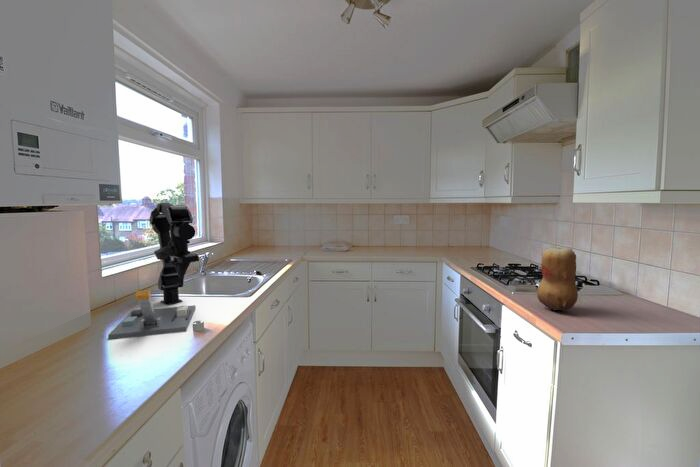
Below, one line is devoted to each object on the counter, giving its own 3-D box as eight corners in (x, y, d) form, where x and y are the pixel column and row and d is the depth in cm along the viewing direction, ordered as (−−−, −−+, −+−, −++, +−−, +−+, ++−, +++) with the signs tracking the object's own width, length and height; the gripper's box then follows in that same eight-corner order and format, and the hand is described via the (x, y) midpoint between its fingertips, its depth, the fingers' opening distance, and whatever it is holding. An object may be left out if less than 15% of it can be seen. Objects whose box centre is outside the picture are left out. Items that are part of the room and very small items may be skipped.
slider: (177, 315, 123) (177, 308, 122) (187, 314, 123) (186, 307, 123) (176, 317, 121) (176, 310, 120) (186, 316, 122) (185, 309, 121)
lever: (146, 322, 113) (136, 291, 103) (158, 321, 114) (150, 290, 104) (144, 327, 111) (134, 296, 102) (157, 326, 112) (148, 294, 103)
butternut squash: (529, 305, 139) (533, 245, 137) (562, 304, 139) (565, 244, 137) (550, 316, 125) (554, 250, 123) (586, 316, 126) (590, 249, 123)
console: (132, 314, 128) (131, 304, 127) (195, 308, 134) (195, 299, 134) (108, 339, 105) (107, 327, 105) (186, 331, 112) (185, 319, 111)
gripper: (146, 238, 129) (149, 279, 130) (166, 241, 117) (169, 286, 118) (176, 236, 137) (178, 274, 139) (198, 239, 125) (200, 280, 127)
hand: (181, 278), depth 130 cm, fingers closed
